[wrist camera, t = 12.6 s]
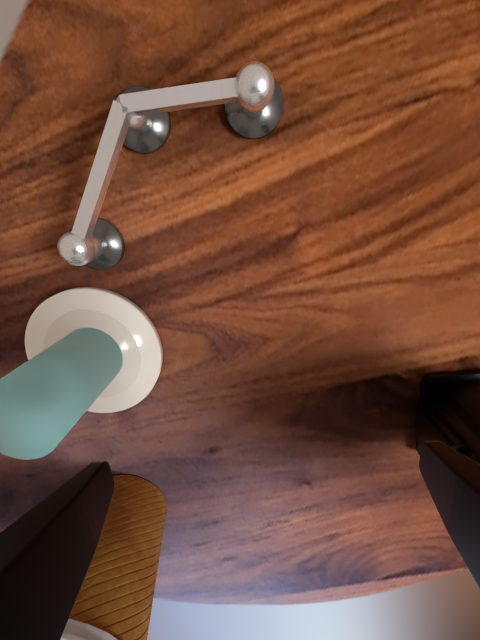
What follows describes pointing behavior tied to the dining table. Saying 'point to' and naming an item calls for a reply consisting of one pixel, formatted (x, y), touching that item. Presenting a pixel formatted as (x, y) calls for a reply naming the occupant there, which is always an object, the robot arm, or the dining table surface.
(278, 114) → the railing
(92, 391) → the peg
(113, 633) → the disposable coffee cup
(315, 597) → the dining table surface
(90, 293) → the saucer
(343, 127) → the dining table surface
